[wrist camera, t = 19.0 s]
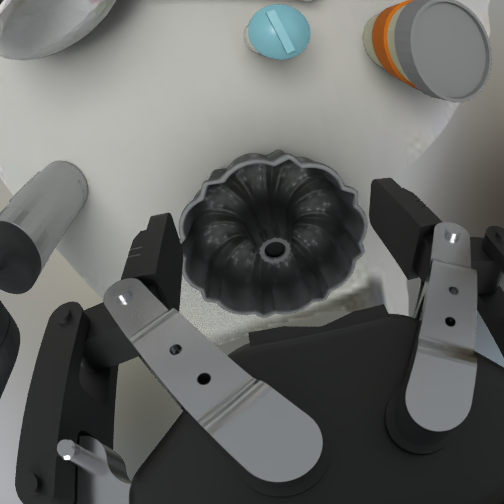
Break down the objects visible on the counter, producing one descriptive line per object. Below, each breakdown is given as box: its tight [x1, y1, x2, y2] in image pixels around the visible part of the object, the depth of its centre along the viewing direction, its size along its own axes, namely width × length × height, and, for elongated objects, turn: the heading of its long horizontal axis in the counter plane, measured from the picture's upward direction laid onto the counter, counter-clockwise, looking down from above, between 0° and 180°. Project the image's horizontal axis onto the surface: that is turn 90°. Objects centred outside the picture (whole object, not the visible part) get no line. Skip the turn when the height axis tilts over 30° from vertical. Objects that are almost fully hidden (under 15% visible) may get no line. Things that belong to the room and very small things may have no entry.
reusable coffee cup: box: [363, 0, 492, 102], centre depth 27 cm, size 12×13×15 cm
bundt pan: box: [179, 150, 367, 318], centre depth 46 cm, size 26×26×10 cm
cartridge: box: [244, 4, 310, 59], centre depth 28 cm, size 6×6×14 cm
